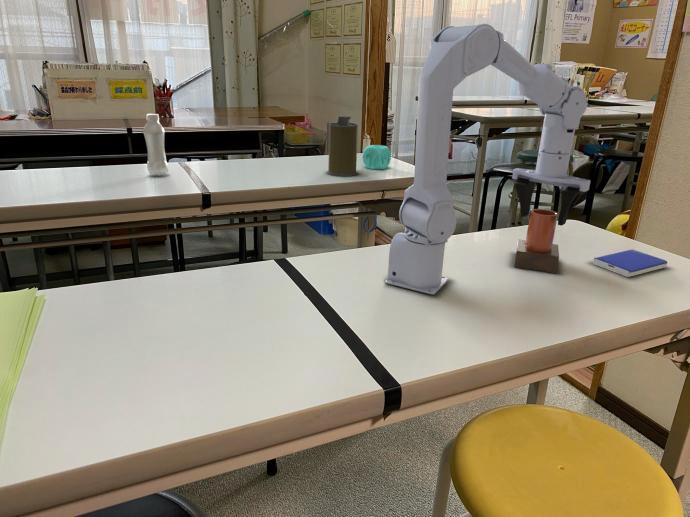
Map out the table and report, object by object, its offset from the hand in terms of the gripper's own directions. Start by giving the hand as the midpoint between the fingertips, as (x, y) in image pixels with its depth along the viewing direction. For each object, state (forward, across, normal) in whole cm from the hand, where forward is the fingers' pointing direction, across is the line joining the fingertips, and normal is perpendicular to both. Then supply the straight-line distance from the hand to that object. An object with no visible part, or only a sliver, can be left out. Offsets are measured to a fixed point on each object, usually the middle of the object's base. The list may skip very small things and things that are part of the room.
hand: (542, 220), depth 103 cm
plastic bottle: (+10, +124, +18) cm, 126 cm away
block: (+9, 0, 0) cm, 9 cm away
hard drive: (+10, -14, -14) cm, 22 cm away
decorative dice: (+10, +88, -52) cm, 103 cm away
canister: (+10, +89, -34) cm, 95 cm away
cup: (+6, 0, 0) cm, 6 cm away
